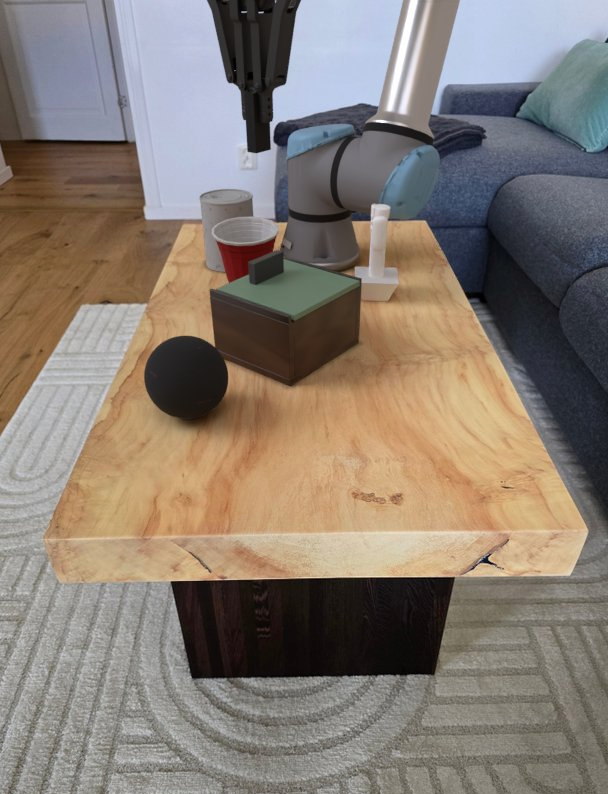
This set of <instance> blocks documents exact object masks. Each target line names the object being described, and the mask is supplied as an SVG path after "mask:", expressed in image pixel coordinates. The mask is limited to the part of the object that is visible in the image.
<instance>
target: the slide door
mask: <svg viewBox="0 0 608 794" xmlns="http://www.w3.org/2000/svg"><path fill="white" fill-rule="evenodd" d="M248 265H249V275H246V276H244V277H242V278H240V279H237V280H235V281H233V282H230V283H229V282H228V283H226V284H224V285H221V286H219V287H217V288H216V290H218V291H221V292H223V293H226V294H229V295H232V296H235V297H238V298H241V299H244V300H247V301H250V302H252V303H255V304H258V305H261V306H264V307H267V308H270V309H273V310H276V311H279V312H282V313H284V314H287V315H290V316H291V320H294V321H296V320H297V319H299V318H301V317H303V316H305V315H307V314H309V313H310V312H312V311H314V310H316V309H318V308H320V307H322V306H323V305H325V304H327V303H329V302H331V301H333V300H335V299H336V298H338V297H340V296H342V295H344V294H346V293H348V292H349V291H351V290H353V289H355V288H357V287H359V286H360V281H359V280H355V279H352V278H348V277H345V276H341V275H338V274H334V273H331V272H327V271H324V270H320V269H317V268H313V267H310V266H306V265H303V264H299V263H296V262H293V261H289V260H286V259H284V257H283V251H280V249H279V250H278V249H276V250H273V252H271V253H269V254H266V255H264V256H262V257H259V258H257V259H254V260H252V261H250V262H248Z"/></svg>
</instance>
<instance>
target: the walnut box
mask: <svg viewBox="0 0 608 794" xmlns="http://www.w3.org/2000/svg"><path fill="white" fill-rule="evenodd" d="M284 259H286V260H289V261H293V262H296V263H299V264H303V265H306V266H310V267H313V268H317V269H320V270H324V271H327V272H331V273H334V274H338V275H341V276H345V277H348V278H352V279H355V280H359V281H360V286H359V287H357V288H355V289H353V290H351V291H349V292H348V293H346V294H344V295H342V296H340V297H338V298H336V299H335V300H333V301H331V302H329V303H327V304H325V305H323V306H322V307H320V308H318V309H316V310H314V311H312V312H310V313H309V314H307V315H305V316H303V317H301V318H299V319H297V320H296V321H294V320H291V316H290V315H287V314H284V313H282V312H279V311H276V310H273V309H270V308H267V307H264V306H261V305H258V304H255V303H252V302H250V301H247V300H244V299H241V298H238V297H235V296H232V295H229V294H226V293H223V292H221V291H218V290H217V289H214V288H210V289H209V302H210V309H211V310H210V311H211V321H212V330H213V331H212V332H213V341H214V347H215V348H216V349H217V350H218V351H219V352H220V354H221V355H222V357H223V359H224V360H226V361H228V362H231V363H233V364H236V365H238V366H241V367H242V368H245V369H247V370H250V371H252V372H255V373H257V374H260V375H262V376H264V377H266V378H269V379H272V380H274V381H276V382H279V383H282V384H284V385H286V386H288V387H292V386H293V385H295V384H296V383H298V382H299V381H301V380H302V379H304V378H306V377H307V376H308V375H311V374H312V373H314V372H315V371H316V370H318V369H320V368H321V367H323V366H324V365H326V364H327V363H330V362H331V361H332V360H334V359H335V358H337V357H339V356H341V355H342V354H343V353H345V352H346V351H348V350H349V349H351V348H353V347H354V346H356V345H357V344H359V343H360V327H361V326H360V324H361V306H362V305H361V304H362V300H361V286H362V285H361V282H362V278H358V277H355V276H354V275H351V274H347V273H345V272H341V271H334V270H330V269H327V268H323V267H320V266H316V265H313V264H309V263H306V262H302V261H298V260H295V259H291V258H288V257H284Z"/></svg>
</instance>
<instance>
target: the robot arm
mask: <svg viewBox="0 0 608 794" xmlns="http://www.w3.org/2000/svg"><path fill="white" fill-rule="evenodd" d="M301 1H302V0H206V2H207V4H208V6H209V8H210V10H211V14H212V19H213V25H214V28H215V34H216V39H217V42H218V46H219V47H218V48H219V53H220V56H221V60H222V61H221V62H222V65H223V66H222V67H223V71H224V74H225V79H226V81H227V83H228V84H233V85H235V86H236V87H237V88H238V90H239V91H240V102H241V116H242V120H243V121H245V132H246V133H245V134H246V149H247V153H250V154H251V153H253V154H260V153H263V152H267V151H271V150H272V145H271V141H272V140H271V122H273V120H274V97H273V96H274V95H273V94H274V91H275V90H276V89H278V88H280V87H282V86H286V84H287V80H288V73H289V68H290V67H289V66H290V60H291V59H290V58H291V51H292V46H293V45H292V44H293V39H294V32H295V23H296V17H297V11H298V10H299V7H300V4H301ZM460 2H461V0H402V3H401V7H400V11H399V17H398V21H397V25H396V29H395V34H394V38H393V41H392V47H391V49H390V50H391V51H390V55H389V60H388V62H387V63H388V65H387V67H386V71H385V77H384V80H383V85H382V90H381V93H380V98H379V101H378V102H379V103H378V107H377V111H376V113H375V114H374V115H373V116H371V117H370V118H368V119H367V120H366V121H365V123H364V125H363V126H364V127H363V131H362V134H361V135H362V136H361V137H359V136H355V135H356V131H355V126H354V125H353V124H350V123H332V124H322V125H317V126H316V125H315V126H309V127H304V128H300V129H297V130H295V131H293V132H291V134H290V135H289V136H288V138H287V149H286V150H287V151H286V157H285V160H286V171H287V172H286V173H287V175H286V176H287V178H286V179H287V203H288V204H287V205H288V206H287V207H288V208H287V209H288V219H287V223H286V226H285V229H284V233H283V237H282V241H281V243H280V246H279V247H280V248H279V251H283V257H288V258H291V259H295V260H298V261H302V262H306V263H309V264H313V265H316V266H320V267H323V268H327V269H330V270H334V271H337V272H341V271H344V270H347V269H350V268H352V267H355V266H356V265H357V264H358V263H359V261H360V247H359V244H358V240H357V235H356V232H355V228H354V226H353V221H352V214H356V213H360V214H361V213H362V214H366V215H371V206H372V204H385V205H388V206H390V214H389V218H388V220H390V219H393V220H400V221H401V220H402V221H406V220H410V219H413V218H415V217H416V216H418V215H419V214H420V213H421V211H423V210H424V209H425V207H426V206H427V205H428V203H429V201H430V199H431V198H432V196H433V193H434V191H435V189H436V186H437V183H438V180H439V175H440V167H439V166H440V164H441V157H440V153H439V152H438V150H437V149H436V148H435V146H433V144H434V140H435V136H434V134H433V132H432V130H431V128H430V125H429V122H430V119H431V115H432V111H433V108H434V104H435V100H436V95H437V92H438V88H439V84H440V81H441V76H442V72H443V68H444V64H445V60H446V57H447V54H448V49H449V46H450V45H449V44H450V41H451V37H452V34H453V30H454V25H455V22H456V18H457V15H458V10H459V5H460Z"/></svg>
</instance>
